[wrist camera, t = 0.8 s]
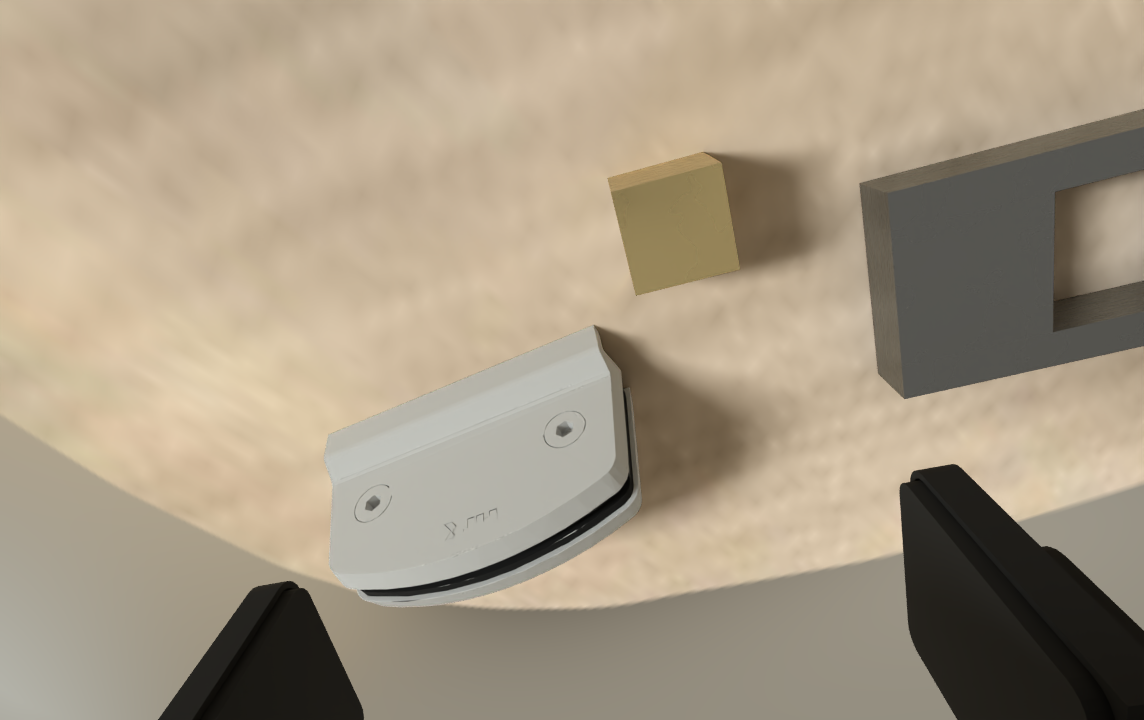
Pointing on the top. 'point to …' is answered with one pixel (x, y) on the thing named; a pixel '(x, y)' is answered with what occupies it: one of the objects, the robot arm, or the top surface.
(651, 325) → the top surface
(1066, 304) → the grey square hole block
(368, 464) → the hinge
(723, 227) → the brass cube
